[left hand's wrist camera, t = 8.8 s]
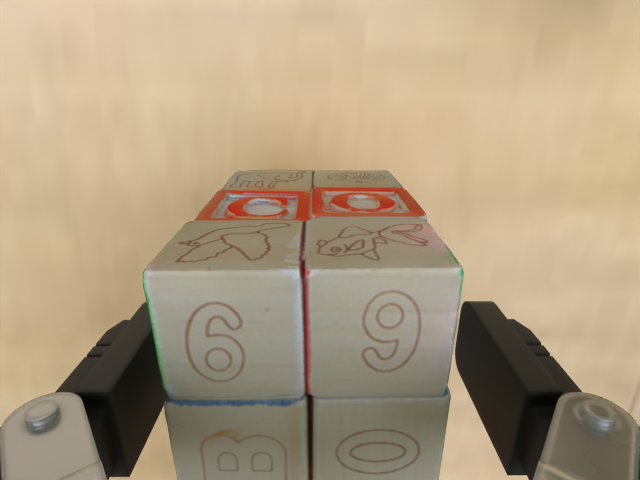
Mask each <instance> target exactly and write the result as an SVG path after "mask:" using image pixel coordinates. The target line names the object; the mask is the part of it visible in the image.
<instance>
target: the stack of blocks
mask: <svg viewBox="0 0 640 480" xmlns="http://www.w3.org/2000/svg"><path fill="white" fill-rule="evenodd" d="M463 274H464V273H463V268H462V266H461V265H460V264H459V263H458V261H457V260H456V258H455V257H454V255H453V254H452V252H451V251H450V250H449V248H448V247H447V246H446V245H445V243H444V242H443V241H442V240H441V239H440V237H439V236H438V235H437V234H436V232H435V231H434V229H433V228H432V227H431V225H430V224H429V223H428V222H427V215H426V213H425V212H424V211H423V209H422V208H421V207H420V206H419V205H418V203H417V202H416V201H415V200H414V199H413V197H412V196H411V195H410V194H409V193H408V192H407V190H405V189H403V187H402V186H401V184H400V183H399V182H398V181H397V180H396V179H395V178H394V177H393V176H392V174H391V173H390V172H389V171H309V170H254V171H239V172H237V173H235V174H234V175H233V176H232V177H231V178H230V179H229V181H228V182H227V183H226V185H225V186H224V188H223V189H222V190H220V191H218V192H217V193H216V194H215V196H214V197H213V198H212V199H211V200H210V202H209V203H208V204H207V205H206V206H205V207H204V208H203V210H202V211H201V212H200V213H199V215H198V216H197V218H196V219H195V221H191V222H188V223H186V224H185V225H184V226H183V227H182V228H181V229H180V230H179V231H178V233H177V234H176V235H175V236H174V237H173V238H172V239H171V240H170V241H169V242H168V243H167V245H166V246H165V247H164V248H163V250H162V251H161V252H160V253H159V254H158V255H157V256H156V257H155V258H154V259H153V260H152V262H151V263H150V264H149V265H148V266H147V268H146V269H145V271H144V272H143V288H144V292H145V296H146V300H147V306H148V311H149V316H150V322H151V327H152V332H153V337H154V342H155V348H156V354H157V360H158V365H159V370H160V374H161V378H162V383H163V388H164V390H165V391H166V393H167V395H166V399H165V402H164V407H165V416H166V420H167V425H168V431H169V437H170V443H171V448H172V453H173V458H174V463H175V468H176V473H177V479H178V480H439V473H440V466H441V460H442V453H443V447H444V440H445V433H446V426H447V419H448V412H449V405H450V398H451V396H450V391H449V388H448V386H447V384H448V379H449V374H450V367H451V360H452V352H453V344H454V338H455V332H456V326H457V316H458V309H459V304H460V296H461V289H462V282H463Z"/></svg>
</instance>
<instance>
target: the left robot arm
mask: <svg viewBox="0 0 640 480" xmlns="http://www.w3.org/2000/svg"><path fill="white" fill-rule="evenodd" d="M455 358H456V365H457V369H458V371H459V374H460V376H461V378H462V380H463V382H464V384H465V386H466V388H467V391H468V393H469V395H470V397H471V399H472V401H473V403H474V405H475V407H476V410H477V412H478V414H479V416H480V418H481V420H482V422H483V424H484V427H485V429H486V431H487V433H488V435H489V437H490V439H491V441H492V443H493V446H494V448H495V450H496V452H497V454H498V456H499V458H500V460H501V463H502V465H503V467H504V469H505V471H506V473H507V475H527V476H528V478H529V480H640V427H639V426H638V424H637V423H636V421H635V420H634V419H633V418H632V417H631V415H629V414H628V413H627V412H626V411H625V410H624V409H622V408H621V407H619V406H618V405H616V404H615V403H613V402H611V401H609V400H607V399H604V398H602V397H599V396H596V395H593V394H589V393H583V392H582V391H581V390H580V389H579V388H578V387H577V385H576V384H575V383H574V382H573V381H572V379H571V378H570V377H569V376H568V375H567V373H566V372H565V371H564V370H563V369H562V367H561V366H560V365H559V364H558V363H557V361H556V360H555V359H554V358H553V357H552V356H550V353H549V352H548V351H547V349H546V348H545V347H544V346H541V342H540V341H539V340H538V339H537V337H536V336H535V335H534V334H533V333H532V331H531V330H529V329H528V328H526V327H525V326H523V325H522V324H520V323H519V322H517V321H516V320H514V319H507V318H506V317H505V316H504V314H503V313H502V312H501V310H500V309H499V308H498V307H497V305H496V304H495V303H494V302H492V301H466V302H464V303H463V305H462V308H461V313H460V320H459V327H458V334H457V341H456V348H455ZM166 395H167V393H166V391H165V390H164V388H163V383H162V378H161V374H160V370H159V365H158V360H157V354H156V348H155V342H154V337H153V332H152V327H151V322H150V316H149V311H148V306H147V302H145V303H143V304H142V306H141V307H140V308H139V309H138V311H137V312H136V313H135V314H134V316H133V317H132V318H131V320H123V321H122V322H120V323H119V324H117V325H116V326H114V327H112V328H111V329H109V330H108V331H107V332H106V333H105V334H104V335H103V336H102V338H101V339H100V340H99V341H98V342H97V343H96V346H94V347H93V348H92V349H91V351H90V352H89V353H88V354H87V357H85V358H84V359H83V360H82V361H81V362H80V364H79V365H78V366H77V367H76V368H75V370H74V371H73V372H72V373H71V374H70V375H69V377H68V378H67V379H66V380H65V381H64V383H63V384H62V385H61V386H60V387H59V389H58V390H57V391H56V392H55V393H51V394H47V395H44V396H41V397H38V398H36V399H33V400H31V401H29V402H27V403H25V404H24V405H22V406H21V407H19V408H18V409H16V410H15V411H14V412H13V413H12V414H11V415H9V417H8V418H7V419H6V420H5V421H4V423H3V424H2V426H1V427H0V480H108V479H109V477H130V475H131V472H132V470H133V468H134V466H135V464H136V462H137V460H138V458H139V456H140V454H141V452H142V449H143V447H144V445H145V443H146V441H147V439H148V437H149V435H150V433H151V431H152V429H153V426H154V424H155V422H156V420H157V418H158V416H159V414H160V412H161V410H162V408H163V406H164V402H165V399H166Z"/></svg>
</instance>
